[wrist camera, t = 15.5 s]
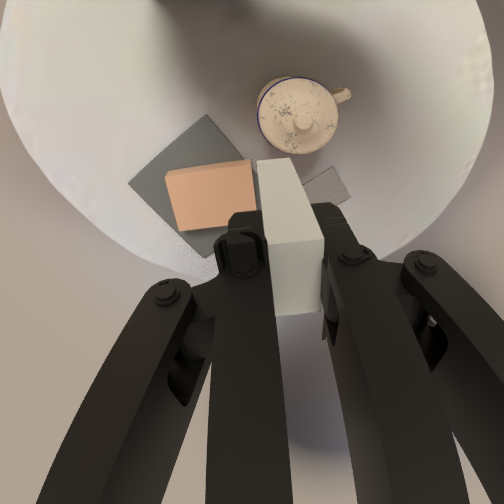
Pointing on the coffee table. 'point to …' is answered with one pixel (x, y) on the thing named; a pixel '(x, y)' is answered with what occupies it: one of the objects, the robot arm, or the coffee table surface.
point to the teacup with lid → (298, 113)
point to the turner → (326, 188)
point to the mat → (184, 156)
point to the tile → (210, 193)
